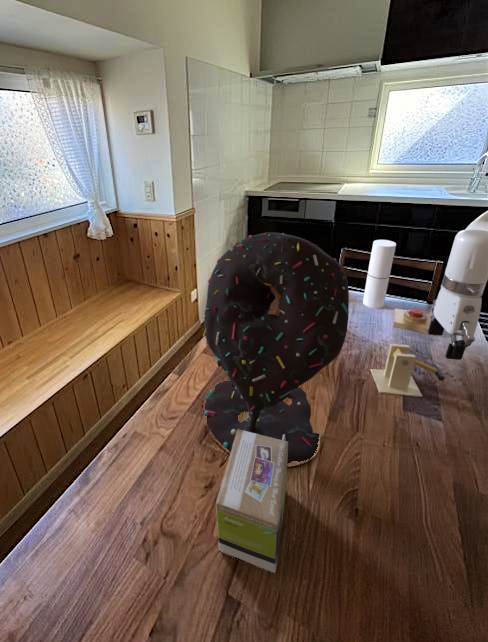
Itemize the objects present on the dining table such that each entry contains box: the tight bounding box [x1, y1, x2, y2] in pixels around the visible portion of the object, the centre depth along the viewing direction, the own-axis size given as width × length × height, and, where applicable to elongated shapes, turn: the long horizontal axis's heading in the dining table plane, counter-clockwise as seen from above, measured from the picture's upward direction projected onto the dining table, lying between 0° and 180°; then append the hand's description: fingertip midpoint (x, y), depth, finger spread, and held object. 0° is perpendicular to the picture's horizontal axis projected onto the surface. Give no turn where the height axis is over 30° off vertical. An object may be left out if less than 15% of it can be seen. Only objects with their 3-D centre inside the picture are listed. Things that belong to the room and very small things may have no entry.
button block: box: [392, 307, 436, 337], centre depth 115 cm, size 12×10×4 cm
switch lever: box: [393, 348, 446, 382], centre depth 87 cm, size 12×5×2 cm, turn 79°
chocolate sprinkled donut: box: [202, 231, 350, 464], centre depth 77 cm, size 30×32×45 cm
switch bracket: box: [370, 343, 423, 398], centre depth 89 cm, size 10×9×12 cm
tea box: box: [215, 429, 288, 574], centre depth 60 cm, size 15×10×15 cm, turn 159°
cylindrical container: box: [362, 239, 397, 309], centre depth 125 cm, size 7×7×25 cm
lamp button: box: [409, 307, 424, 318], centre depth 114 cm, size 4×4×2 cm
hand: (443, 345), depth 83 cm, fingers open, 9 cm apart
